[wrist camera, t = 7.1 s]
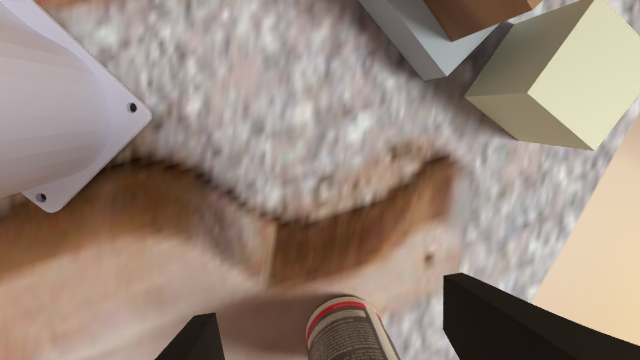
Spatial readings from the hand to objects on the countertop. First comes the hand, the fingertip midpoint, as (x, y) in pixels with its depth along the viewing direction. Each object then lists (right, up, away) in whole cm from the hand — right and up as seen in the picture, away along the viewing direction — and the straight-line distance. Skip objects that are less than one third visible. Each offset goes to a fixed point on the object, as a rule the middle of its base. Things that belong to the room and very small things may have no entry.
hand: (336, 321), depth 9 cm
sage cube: (+12, +10, +9) cm, 18 cm away
